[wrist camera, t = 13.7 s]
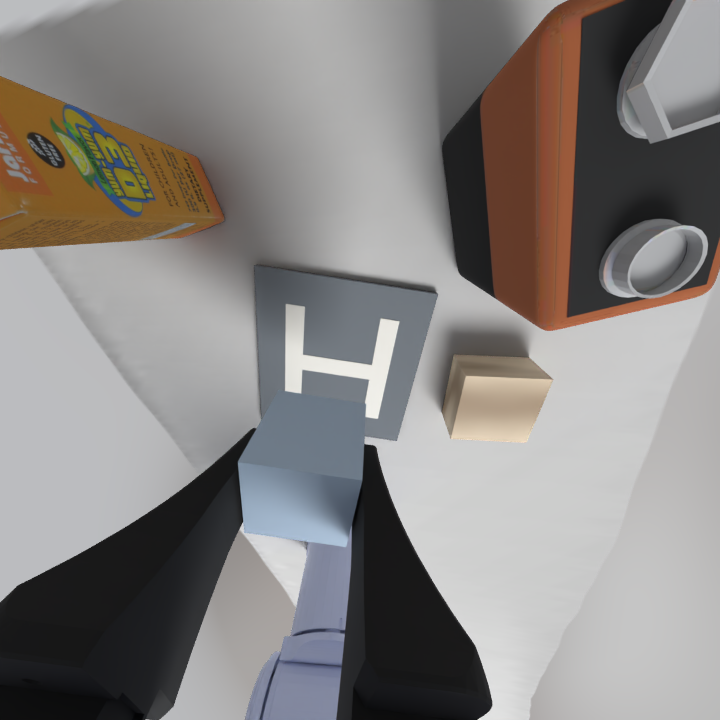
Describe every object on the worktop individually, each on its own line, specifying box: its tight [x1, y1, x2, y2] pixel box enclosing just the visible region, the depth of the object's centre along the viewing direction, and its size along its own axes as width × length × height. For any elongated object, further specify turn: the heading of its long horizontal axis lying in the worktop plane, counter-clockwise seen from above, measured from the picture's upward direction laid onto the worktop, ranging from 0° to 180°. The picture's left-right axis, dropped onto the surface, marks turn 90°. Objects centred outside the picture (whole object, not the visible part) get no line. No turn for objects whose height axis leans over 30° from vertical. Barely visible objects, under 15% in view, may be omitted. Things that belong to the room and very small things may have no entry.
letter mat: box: [254, 265, 438, 441], centre depth 19 cm, size 12×11×1 cm
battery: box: [442, 0, 720, 331], centre depth 9 cm, size 4×7×10 cm, turn 17°
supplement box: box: [0, 76, 225, 250], centre depth 10 cm, size 3×4×10 cm
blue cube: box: [238, 390, 366, 547], centre depth 11 cm, size 4×4×4 cm
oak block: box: [442, 355, 553, 443], centre depth 18 cm, size 5×5×3 cm
